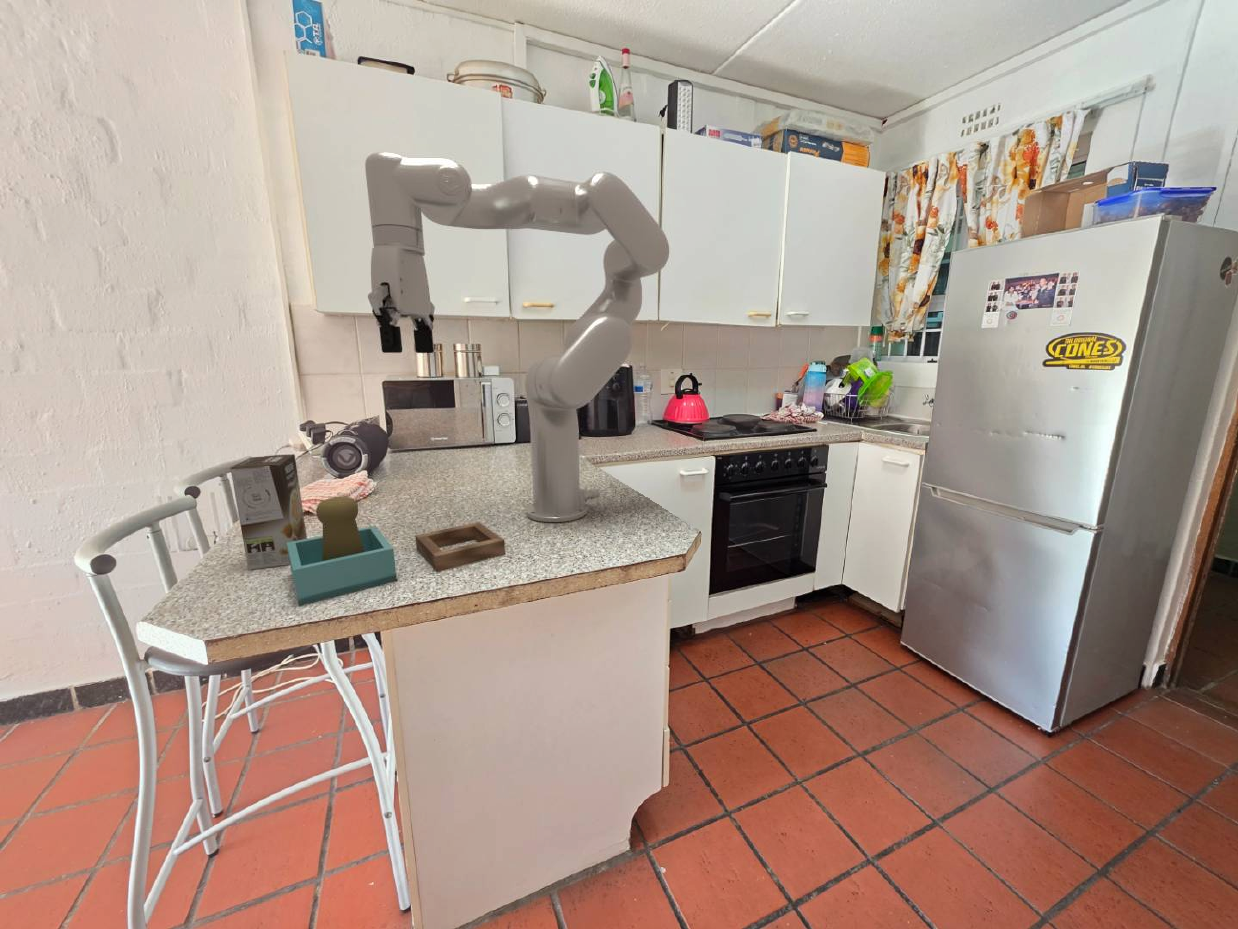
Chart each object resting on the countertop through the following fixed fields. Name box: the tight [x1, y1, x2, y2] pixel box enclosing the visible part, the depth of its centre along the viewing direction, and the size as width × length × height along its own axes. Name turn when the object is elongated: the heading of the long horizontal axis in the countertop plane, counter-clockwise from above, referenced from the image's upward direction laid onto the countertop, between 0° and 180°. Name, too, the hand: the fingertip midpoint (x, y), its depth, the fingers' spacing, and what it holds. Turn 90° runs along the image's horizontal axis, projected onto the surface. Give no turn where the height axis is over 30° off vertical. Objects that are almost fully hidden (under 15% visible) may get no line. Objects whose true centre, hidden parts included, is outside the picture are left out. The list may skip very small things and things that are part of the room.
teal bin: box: [287, 525, 398, 607], centre depth 71 cm, size 12×12×5 cm
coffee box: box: [229, 453, 308, 571], centre depth 77 cm, size 9×6×16 cm
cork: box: [315, 496, 365, 561], centre depth 70 cm, size 6×6×11 cm
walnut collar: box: [414, 521, 506, 573], centre depth 80 cm, size 11×11×2 cm
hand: (409, 352), depth 82 cm, fingers open, 9 cm apart
